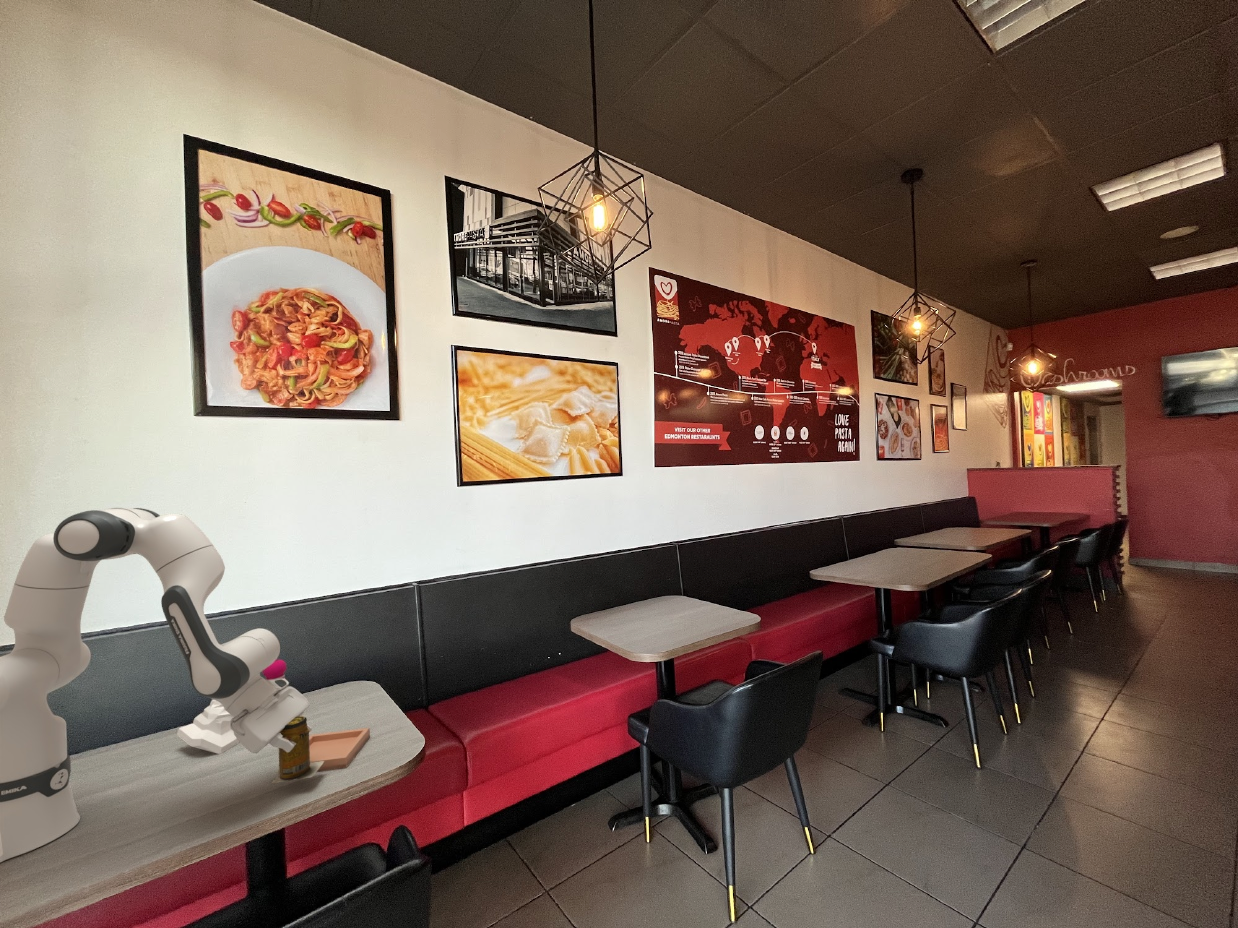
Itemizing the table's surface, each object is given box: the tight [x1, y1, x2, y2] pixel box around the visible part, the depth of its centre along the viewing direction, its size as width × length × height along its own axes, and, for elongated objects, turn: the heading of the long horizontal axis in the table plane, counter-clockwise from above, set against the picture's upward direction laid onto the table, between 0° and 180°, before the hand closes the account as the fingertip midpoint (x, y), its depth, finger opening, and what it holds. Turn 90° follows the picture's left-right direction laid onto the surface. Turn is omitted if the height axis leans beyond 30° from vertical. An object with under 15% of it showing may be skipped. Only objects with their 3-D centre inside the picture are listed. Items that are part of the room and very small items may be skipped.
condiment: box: [270, 715, 324, 784], centre depth 118 cm, size 7×8×12 cm
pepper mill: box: [262, 657, 287, 681], centre depth 154 cm, size 7×7×20 cm
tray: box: [278, 727, 371, 775], centre depth 131 cm, size 15×15×2 cm
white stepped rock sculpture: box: [176, 699, 241, 755], centre depth 141 cm, size 12×15×14 cm
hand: (301, 740), depth 118 cm, fingers closed on condiment, 6 cm apart
